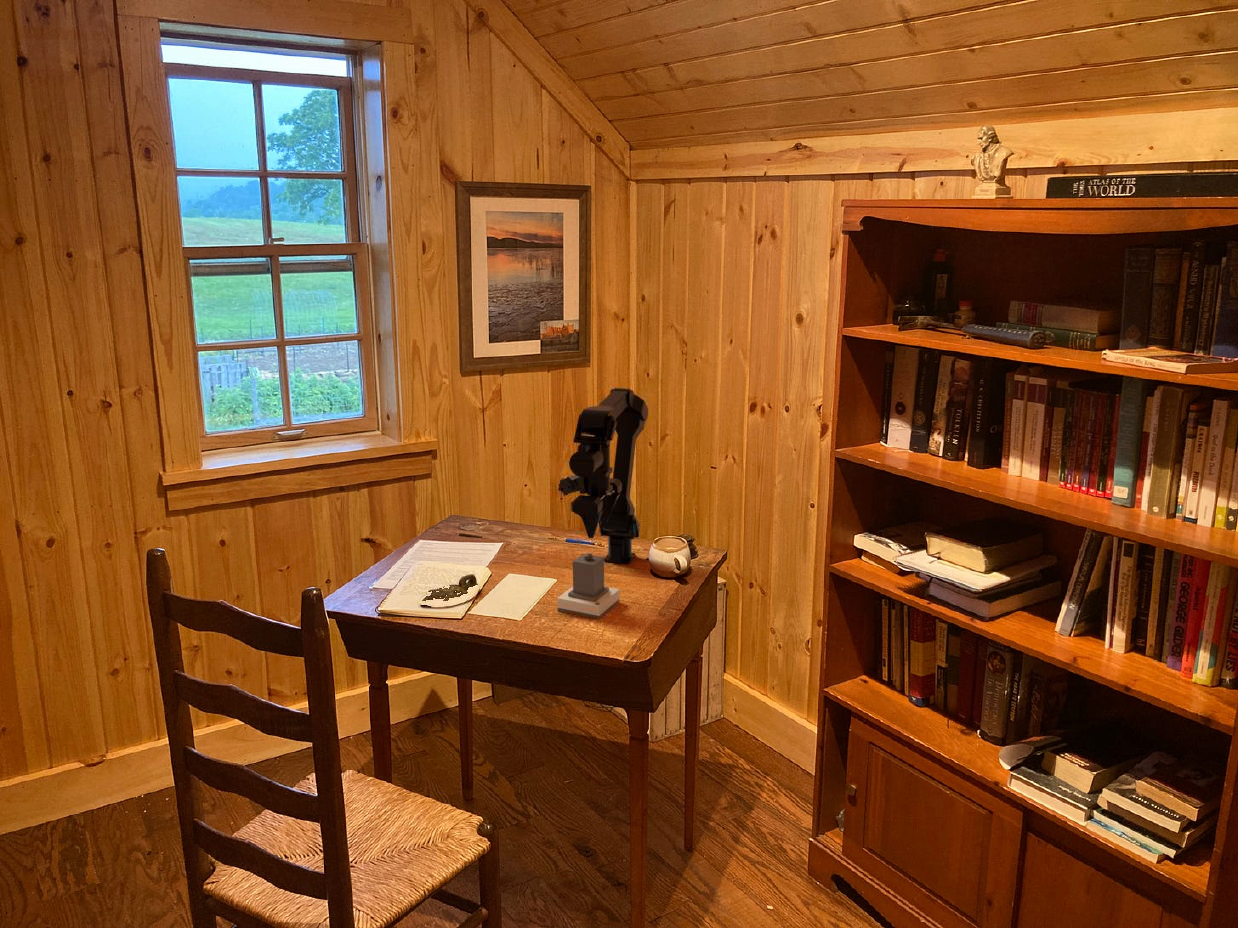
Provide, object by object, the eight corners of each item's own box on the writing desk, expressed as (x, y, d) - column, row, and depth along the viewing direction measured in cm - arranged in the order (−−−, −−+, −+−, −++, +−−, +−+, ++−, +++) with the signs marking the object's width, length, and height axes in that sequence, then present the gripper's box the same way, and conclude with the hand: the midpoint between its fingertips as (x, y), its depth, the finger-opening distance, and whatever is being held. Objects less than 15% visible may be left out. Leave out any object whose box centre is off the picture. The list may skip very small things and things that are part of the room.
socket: (579, 594, 221) (579, 580, 220) (619, 601, 217) (619, 587, 216) (557, 610, 213) (557, 596, 212) (599, 619, 209) (599, 605, 208)
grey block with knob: (582, 594, 219) (581, 547, 216) (609, 599, 216) (608, 552, 213) (568, 605, 213) (567, 557, 210) (595, 610, 210) (595, 562, 207)
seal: (433, 619, 212) (489, 598, 222) (433, 599, 210) (490, 580, 220) (409, 601, 218) (465, 582, 228) (409, 582, 217) (465, 564, 226)
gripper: (576, 451, 230) (577, 515, 234) (547, 473, 212) (549, 541, 217) (622, 455, 226) (622, 519, 231) (596, 477, 209) (597, 546, 214)
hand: (597, 531), depth 223 cm, fingers open, 9 cm apart
